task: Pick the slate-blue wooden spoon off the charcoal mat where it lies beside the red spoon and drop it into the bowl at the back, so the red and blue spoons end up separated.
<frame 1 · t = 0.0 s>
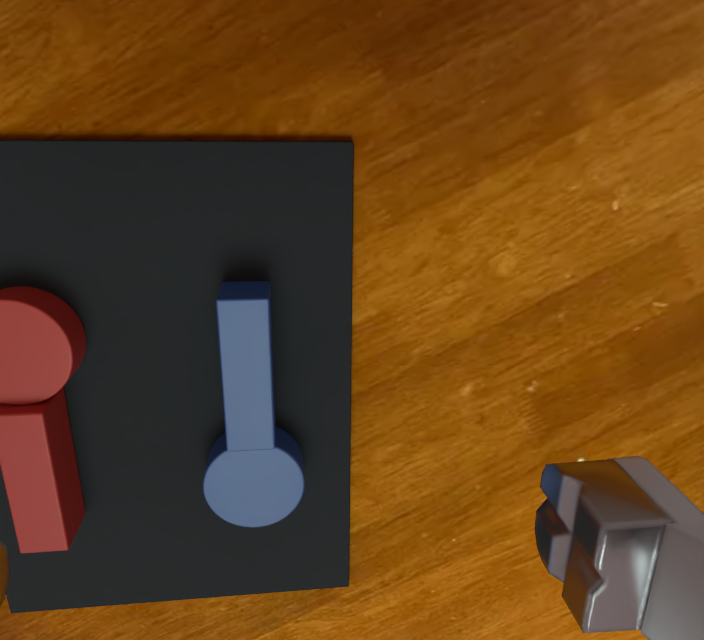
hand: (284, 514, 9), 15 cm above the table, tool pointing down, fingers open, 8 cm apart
mat: (164, 399, 24), on the table
red spoon: (43, 409, 23), resting on mat
blue spoon: (252, 400, 24), resting on mat
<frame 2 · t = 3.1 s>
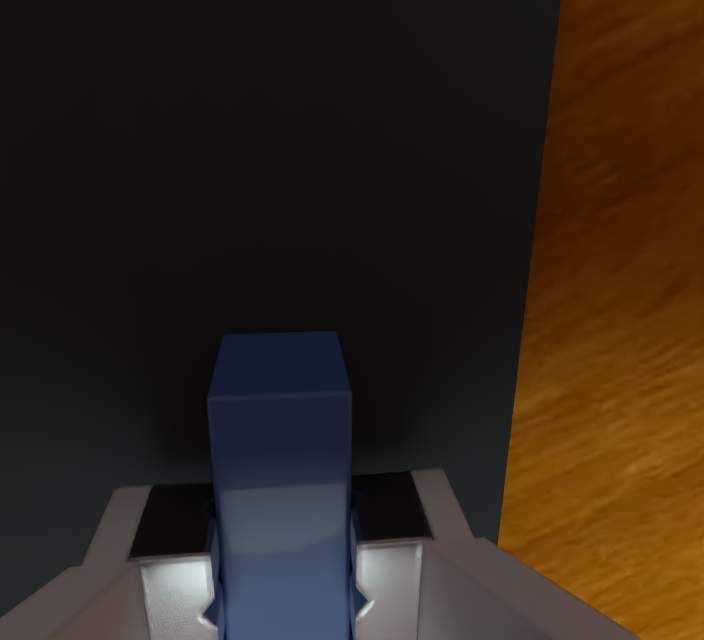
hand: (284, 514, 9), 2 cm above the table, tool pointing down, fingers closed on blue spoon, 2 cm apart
mat: (99, 579, 11), on the table
blue spoon: (288, 581, 11), resting on mat, touching gripper
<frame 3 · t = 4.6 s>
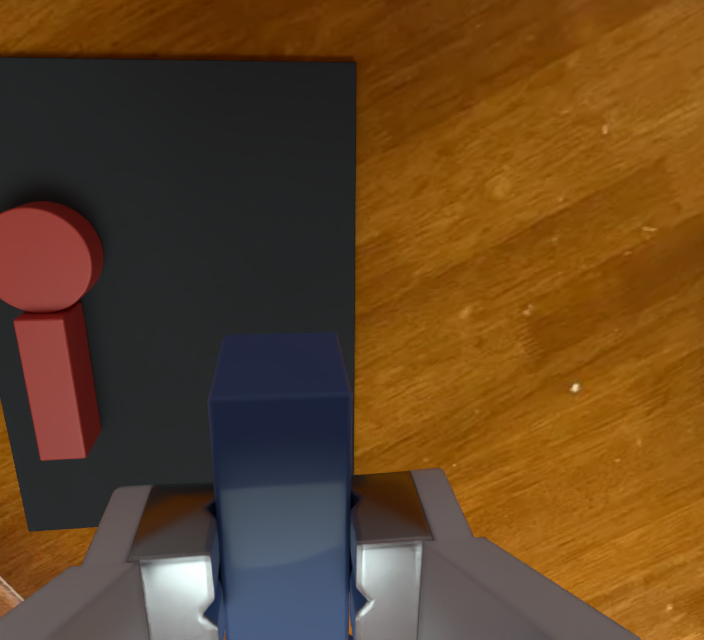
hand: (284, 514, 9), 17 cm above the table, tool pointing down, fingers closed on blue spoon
mat: (177, 317, 25), on the table
red spoon: (62, 324, 24), resting on mat
blue spoon: (287, 581, 11), point 15 cm above the table, touching gripper
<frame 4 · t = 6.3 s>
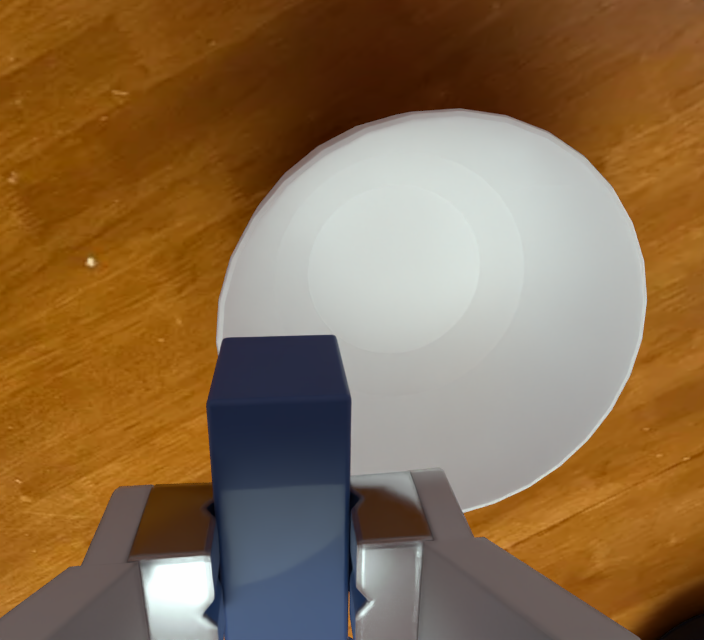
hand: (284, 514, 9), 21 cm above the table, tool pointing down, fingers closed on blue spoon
bowl: (391, 268, 30), on the table
blue spoon: (287, 583, 11), point 20 cm above the table, touching gripper
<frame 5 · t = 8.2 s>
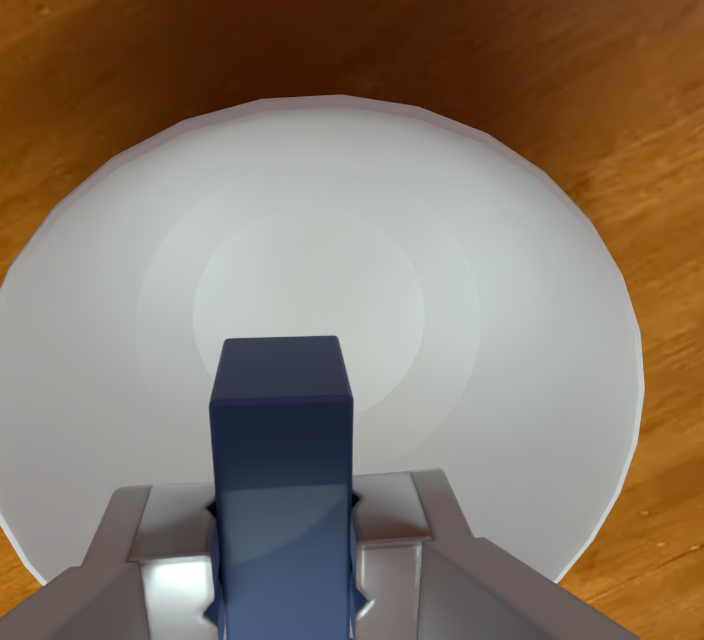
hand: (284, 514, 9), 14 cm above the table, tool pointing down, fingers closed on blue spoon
bowl: (310, 314, 23), on the table
blue spoon: (288, 584, 11), point 13 cm above the table, touching gripper
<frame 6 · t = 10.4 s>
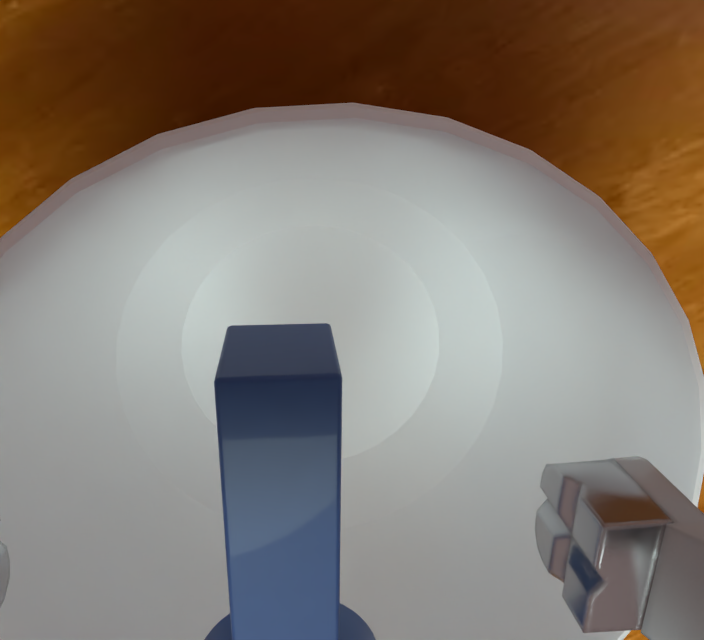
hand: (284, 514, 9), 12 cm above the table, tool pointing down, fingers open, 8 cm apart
bowl: (312, 341, 21), on the table, touching blue spoon
blue spoon: (285, 553, 12), point 10 cm above the table, touching bowl
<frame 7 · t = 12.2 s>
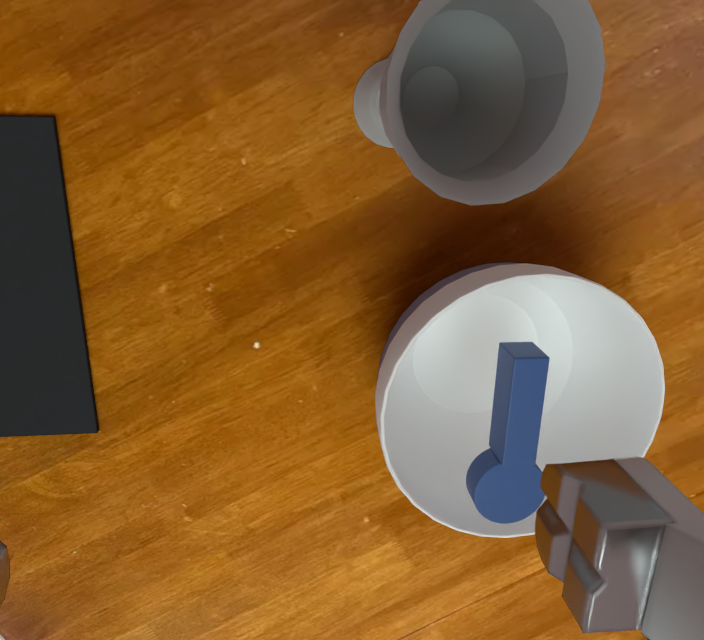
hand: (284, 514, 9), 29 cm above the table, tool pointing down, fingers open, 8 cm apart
bowl: (471, 349, 41), on the table, touching blue spoon
blue spoon: (505, 427, 32), point 10 cm above the table, touching bowl
chalice: (394, 103, 35), on the table
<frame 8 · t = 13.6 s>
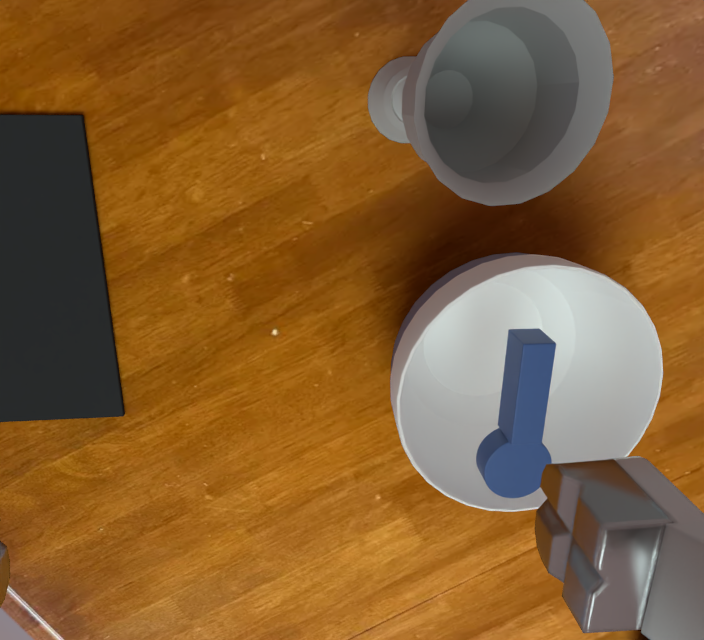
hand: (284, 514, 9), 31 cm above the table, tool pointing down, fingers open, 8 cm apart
bowl: (479, 335, 43), on the table, touching blue spoon
blue spoon: (513, 409, 34), point 10 cm above the table, touching bowl
chalice: (407, 100, 37), on the table
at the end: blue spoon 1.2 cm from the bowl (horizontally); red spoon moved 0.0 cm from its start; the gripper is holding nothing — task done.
